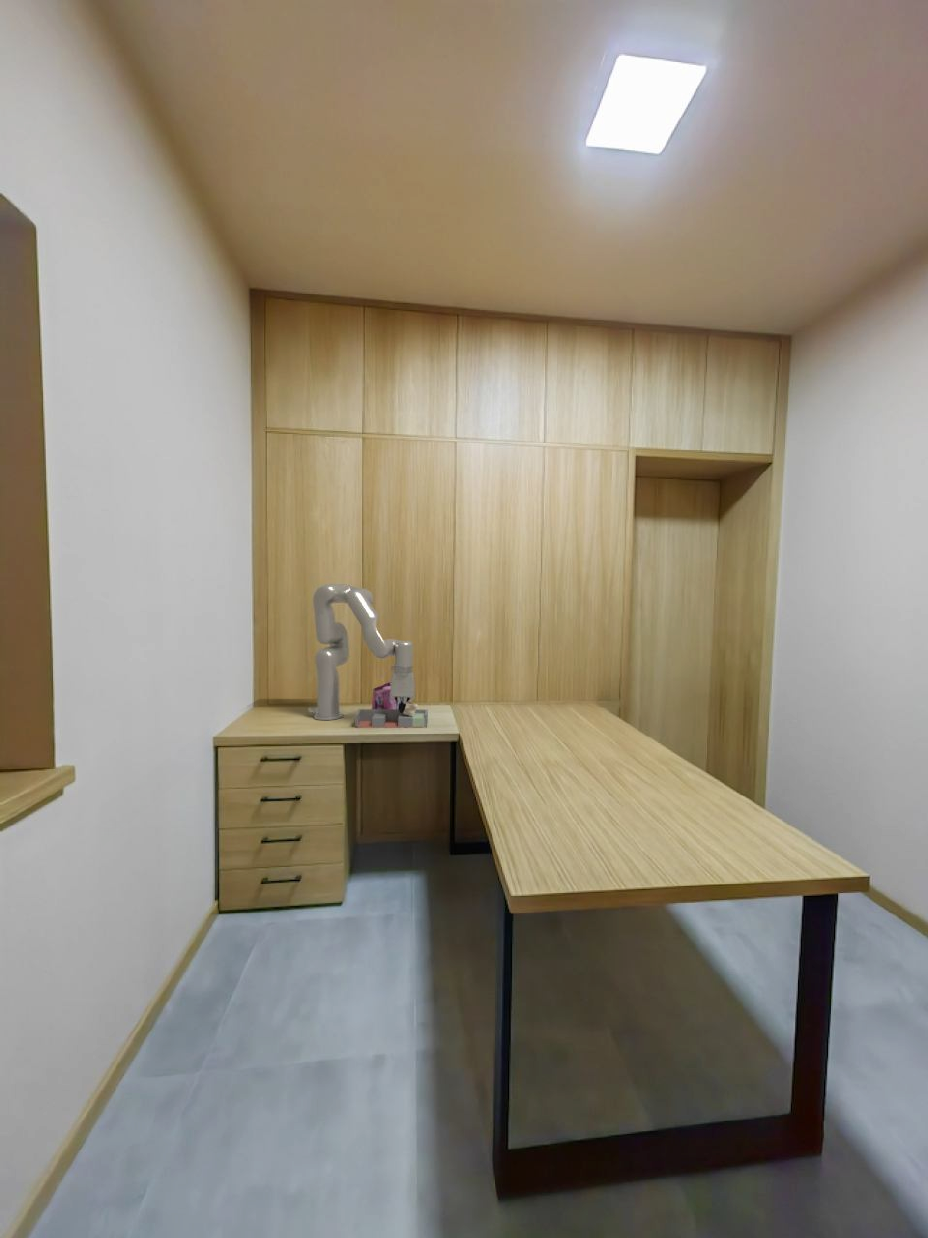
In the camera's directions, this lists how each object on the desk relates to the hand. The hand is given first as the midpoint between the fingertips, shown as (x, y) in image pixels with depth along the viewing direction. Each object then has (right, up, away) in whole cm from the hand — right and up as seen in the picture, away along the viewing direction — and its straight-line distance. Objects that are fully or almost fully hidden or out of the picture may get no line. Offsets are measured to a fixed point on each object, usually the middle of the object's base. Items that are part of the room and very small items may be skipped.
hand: (402, 712), depth 210 cm
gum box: (-8, -5, +18) cm, 21 cm away
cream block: (+3, -1, 0) cm, 3 cm away
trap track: (-4, -5, 0) cm, 7 cm away
